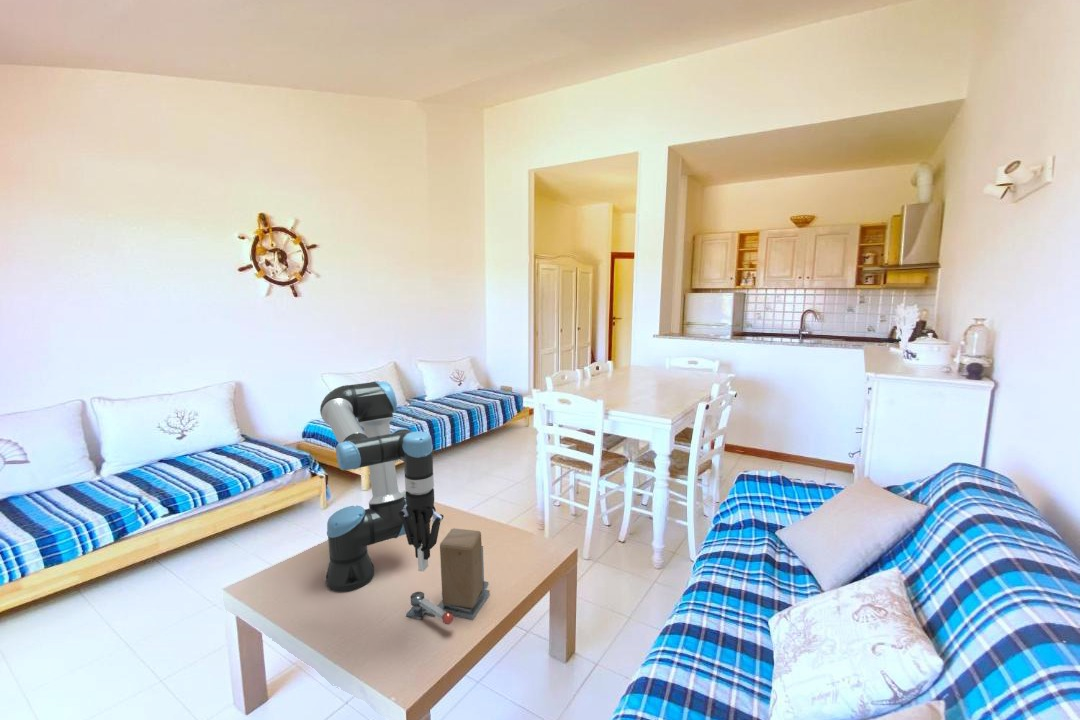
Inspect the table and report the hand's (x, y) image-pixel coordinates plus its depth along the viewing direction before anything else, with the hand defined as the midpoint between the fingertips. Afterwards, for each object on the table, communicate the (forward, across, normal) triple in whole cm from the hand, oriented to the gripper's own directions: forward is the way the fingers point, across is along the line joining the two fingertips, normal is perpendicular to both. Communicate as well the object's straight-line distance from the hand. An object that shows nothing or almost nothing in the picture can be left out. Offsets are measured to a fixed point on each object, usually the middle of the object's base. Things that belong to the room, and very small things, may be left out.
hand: (423, 568), depth 133 cm
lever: (+15, +1, +2) cm, 16 cm away
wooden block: (+17, +5, +13) cm, 22 cm away
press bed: (+19, +2, +13) cm, 22 cm away
